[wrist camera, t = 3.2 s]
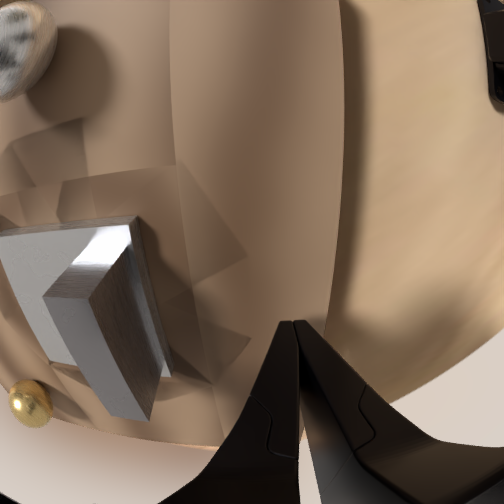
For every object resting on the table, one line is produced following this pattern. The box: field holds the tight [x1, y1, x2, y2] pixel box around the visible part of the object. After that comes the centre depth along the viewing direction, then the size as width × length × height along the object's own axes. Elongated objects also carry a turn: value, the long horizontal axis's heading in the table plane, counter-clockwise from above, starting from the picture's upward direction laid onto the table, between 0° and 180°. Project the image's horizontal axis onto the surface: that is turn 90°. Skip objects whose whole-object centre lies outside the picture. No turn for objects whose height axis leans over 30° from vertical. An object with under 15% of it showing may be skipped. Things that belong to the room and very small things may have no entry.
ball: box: [0, 1, 57, 104], centre depth 4 cm, size 4×4×4 cm
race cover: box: [0, 215, 174, 422], centre depth 9 cm, size 7×7×4 cm
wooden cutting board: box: [0, 0, 344, 446], centre depth 12 cm, size 25×26×2 cm
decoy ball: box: [9, 379, 53, 428], centre depth 13 cm, size 4×4×4 cm
